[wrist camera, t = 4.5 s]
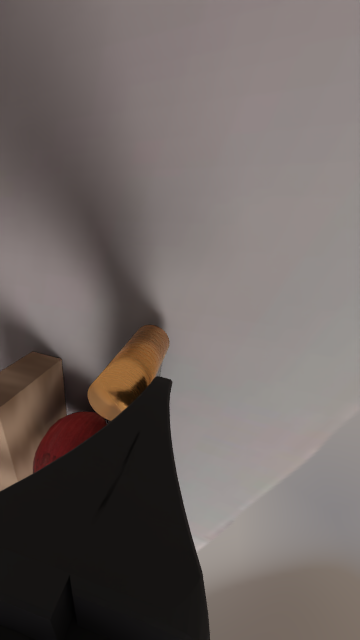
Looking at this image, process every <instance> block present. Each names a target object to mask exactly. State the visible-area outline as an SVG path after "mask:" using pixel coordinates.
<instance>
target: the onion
mask: <svg viewBox="0 0 360 640" xmlns="http://www.w3.org/2000/svg"><path fill="white" fill-rule="evenodd" d="M106 425H107V424H106V421H105V419H104V417H102V416H100V415H99V414H98V413H95V412H86V411H83V412H76V413H73V414H70V415H67V416H65V417H63V418H61V419H59V420H58V421H57V422H56V423H54V424H53V425H52V426H51V427H50V429H49V430H48V431H47V433H46V434H45V436H44V437H43V439H42V440H41V442H40V444H39V446H38V448H37V450H36V452H35V456H34V460H33V473H35V472H37V471H38V470H40V469H42V468H43V467H45V466H46V465H48V464H50V463H51V462H53V461H55V460H56V459H58V458H60V457H61V456H63V455H65V454H66V453H68V452H69V451H71V450H72V449H74V448H75V447H77V446H78V445H80V444H81V443H83V442H84V441H85V440H87V439H88V438H90V437H91V436H92V435H94V434H95V433H96V432H98V431H99V430H100V429H102V428H103V427H104V426H106Z"/></svg>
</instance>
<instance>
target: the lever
mask: <svg viewBox="0 0 360 640" xmlns="http://www.w3.org/2000/svg"><path fill="white" fill-rule="evenodd" d="M168 348H169V338H168V336H167V334H166V333H165V331H164V330H162V329H161V328H159V327H157V326H154V325H145V326H143V327H141V328H140V329H139V330H138V331H137V332H136V333H135V334H134V335H133V337H132V338H131V339H130V340H129V341H128V342H127V344H126V345H125V346H124V347H123V348H122V350H121V351H120V352H119V353H118V354H117V355H116V357H115V358H114V359H113V360H112V361H111V362H110V364H109V365H108V366H107V367H106V368H105V369H104V371H103V372H102V373H101V374H100V375H99V376H98V378H97V379H96V380H95V381H94V382H93V383H92V385H91V386H90V387H89V389H88V400H89V403H90V405H91V406H92V408H93V409H94V410H95V411H96V412H97V413H98V414H99V415H100V416H102V417H104V418H105V419H107V420H110V421H112V420H113V419H114V418H115V417H116V416H118V415H119V414H120V413H121V412H122V411H123V410H124V409H126V408H127V407H128V406H129V405H130V404H131V403H132V402H133V401H134V400H135V399H136V398H137V397H138V396H139V395H140V394H141V393H142V392H143V391H144V390H145V389H146V388H147V386H148V385H149V384H150V383H151V382H152V380H153V379H154V378H155V377H157V376H159V377H160V372H161V367H162V361H163V359H164V357H165V354H166V352H167V350H168Z"/></svg>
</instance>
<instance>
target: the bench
mask: <svg viewBox="0 0 360 640" xmlns="http://www.w3.org/2000/svg"><path fill="white" fill-rule="evenodd" d="M65 416H67V415H66V403H65V392H64V381H63V370H62V359H59V358H55V357H52V356H48V355H44V354H40V353H37V352H31V353H29V354H28V355H26V356H24V357H23V358H21V359H20V360H18V361H16V362H15V363H13V364H12V365H10V366H8V367H7V368H5V369H4V370H2V371H0V491H2V490H3V489H5V488H7V487H9V486H11V485H13V484H15V483H16V482H18V481H20V480H22V479H24V478H26V477H28V476H29V475H31V474H33V460H34V456H35V452H36V450H37V448H38V446H39V444H40V442H41V440H42V439H43V437H44V436H45V434H46V433H47V431H48V430H49V429H50V427H51V426H52V425H53V424H54V423H56V422H57V421H58V420H59V419H61V418H63V417H65Z"/></svg>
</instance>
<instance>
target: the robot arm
mask: <svg viewBox="0 0 360 640" xmlns="http://www.w3.org/2000/svg"><path fill="white" fill-rule="evenodd" d="M171 387H172V381H171V380H170V379H167V378H163V377H159V376H157V377H155V378H154V379H153V380H152V382H151V383H150V384H149V385H148V386H147V388H146V389H145V390H144V391H143V392H142V393H141V394H140V395H139V396H138V397H137V398H136V399H135V400H134V401H133V402H132V403H131V404H130V405H129V406H128V407H127V408H126V409H124V410H123V411H122V412H121V413H120V414H119V415H118V416H116V417H115V418H114V419H113V420H112V421H111V422H109V423H108V424H107V425H106V426H104V427H103V428H102V429H100V430H99V431H98V432H96V433H95V434H94V435H92V436H91V437H90V438H88V439H87V440H85V441H84V442H83V443H81V444H80V445H78V446H77V447H75V448H74V449H72V450H71V451H69V452H68V453H66V454H65V455H63V456H61V457H60V458H58V459H56V460H55V461H53V462H51V463H50V464H48V465H46V466H45V467H43V468H42V469H40V470H38V471H37V472H35V473H33V474H31V475H29V476H28V477H26V478H24V479H22V480H20V481H18V482H16V483H15V484H13V485H11V486H9V487H7V488H5V489H3V490H2V491H0V640H210V632H209V619H208V610H207V602H206V596H205V589H204V581H203V574H202V570H201V566H200V563H199V560H198V556H197V553H196V549H195V546H194V542H193V539H192V535H191V532H190V528H189V524H188V520H187V516H186V513H185V509H184V504H183V500H182V495H181V491H180V487H179V482H178V477H177V472H176V467H175V461H174V455H173V448H172V440H171V430H170V412H169V401H170V392H171Z"/></svg>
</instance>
